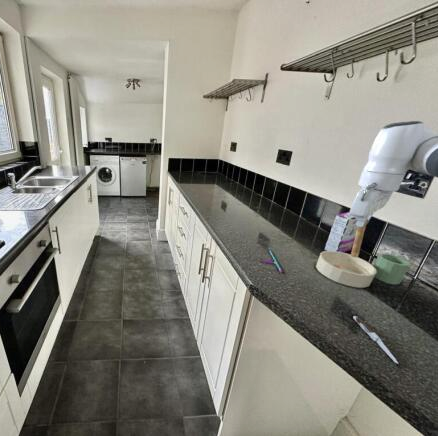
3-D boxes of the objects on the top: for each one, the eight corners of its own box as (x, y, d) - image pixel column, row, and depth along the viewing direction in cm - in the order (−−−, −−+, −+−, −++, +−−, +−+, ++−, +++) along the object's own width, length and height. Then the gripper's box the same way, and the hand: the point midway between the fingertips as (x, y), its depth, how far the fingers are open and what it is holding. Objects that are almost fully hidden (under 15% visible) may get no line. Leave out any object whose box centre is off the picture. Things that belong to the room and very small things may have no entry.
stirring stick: (358, 255, 75) (371, 202, 70) (357, 257, 74) (371, 203, 69) (350, 254, 77) (363, 201, 71) (350, 256, 75) (363, 202, 70)
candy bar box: (338, 245, 102) (351, 211, 96) (351, 250, 98) (366, 215, 92) (322, 250, 98) (335, 214, 92) (335, 256, 94) (350, 218, 88)
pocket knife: (351, 318, 63) (353, 313, 62) (354, 319, 63) (357, 313, 62) (394, 367, 50) (398, 360, 50) (398, 367, 50) (402, 361, 49)
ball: (344, 267, 78) (341, 275, 78) (340, 267, 81) (337, 276, 81) (333, 263, 80) (330, 272, 79) (329, 264, 82) (327, 272, 82)
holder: (402, 280, 80) (412, 261, 76) (396, 288, 76) (407, 268, 72) (373, 269, 85) (382, 251, 82) (366, 276, 81) (375, 256, 78)
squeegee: (257, 248, 95) (270, 250, 94) (257, 250, 96) (270, 252, 95) (267, 269, 81) (282, 271, 80) (266, 271, 82) (281, 273, 81)
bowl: (375, 279, 80) (382, 266, 78) (360, 295, 72) (367, 281, 70) (325, 259, 91) (330, 247, 89) (307, 270, 83) (312, 257, 81)
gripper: (383, 188, 59) (362, 236, 65) (402, 180, 70) (384, 221, 75) (352, 183, 64) (336, 228, 69) (375, 176, 75) (359, 215, 80)
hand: (361, 224), depth 72 cm, fingers closed on stirring stick, 2 cm apart
